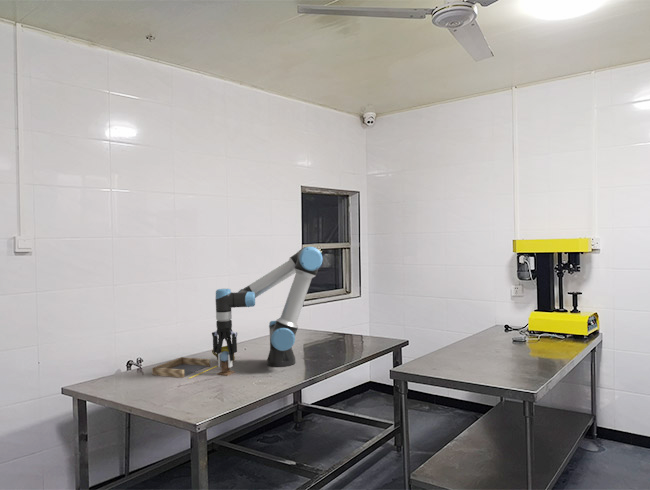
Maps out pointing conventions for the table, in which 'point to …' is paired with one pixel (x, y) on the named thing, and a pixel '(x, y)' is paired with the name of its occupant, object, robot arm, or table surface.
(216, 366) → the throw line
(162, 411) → the table surface
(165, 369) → the wooden u-shaped frame
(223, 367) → the tee
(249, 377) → the table surface
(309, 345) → the table surface
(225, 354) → the ball
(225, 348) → the mug
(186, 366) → the mat
